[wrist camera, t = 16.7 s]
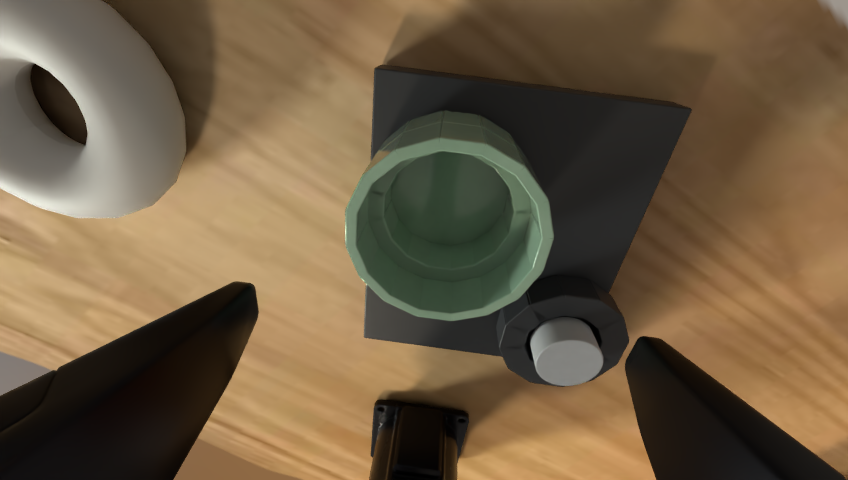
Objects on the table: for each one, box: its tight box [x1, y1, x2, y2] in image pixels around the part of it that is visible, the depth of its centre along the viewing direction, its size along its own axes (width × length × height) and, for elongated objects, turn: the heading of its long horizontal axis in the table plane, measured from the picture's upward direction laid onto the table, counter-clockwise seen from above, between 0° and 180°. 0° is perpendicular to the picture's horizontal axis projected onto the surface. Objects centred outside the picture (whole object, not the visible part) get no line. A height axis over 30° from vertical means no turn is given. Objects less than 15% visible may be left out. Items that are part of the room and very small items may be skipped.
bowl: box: [345, 110, 554, 321], centre depth 14 cm, size 7×7×4 cm
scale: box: [364, 65, 692, 387], centre depth 17 cm, size 14×13×3 cm
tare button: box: [530, 317, 603, 386], centre depth 18 cm, size 3×3×2 cm
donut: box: [0, 0, 186, 218], centre depth 15 cm, size 10×3×10 cm
